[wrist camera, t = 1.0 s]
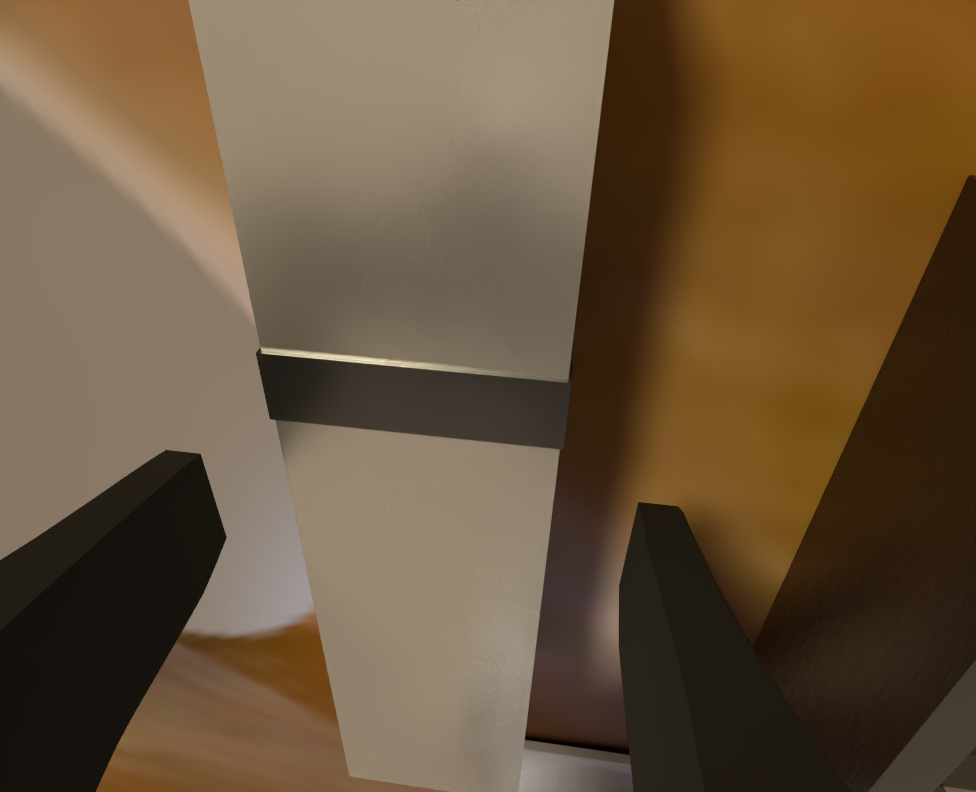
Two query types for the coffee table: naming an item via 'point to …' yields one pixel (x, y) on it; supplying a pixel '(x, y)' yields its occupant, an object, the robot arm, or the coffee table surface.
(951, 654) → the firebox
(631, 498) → the coffee table surface
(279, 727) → the coffee table surface
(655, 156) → the coffee table surface
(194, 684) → the coffee table surface
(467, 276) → the cream rectangular block
